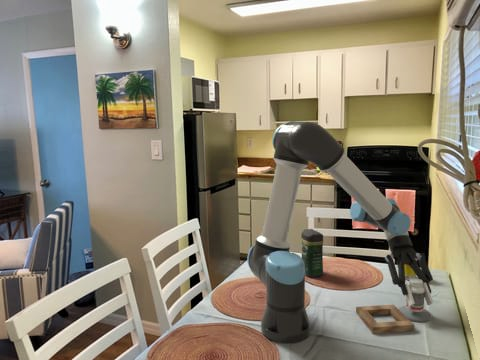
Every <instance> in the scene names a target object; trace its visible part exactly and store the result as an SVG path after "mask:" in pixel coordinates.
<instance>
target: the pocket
mask: <svg viewBox="0 0 480 360" xmlns="http://www.w3.org/2000/svg"><path fill="white" fill-rule="evenodd" d="M355 313H356V315H358V317H359V319H361V321H362V322H363V323H364V325H365V326H366V328H367V329H368V330H369V331H370V332H371V334H383V333H384V334H385V333H386V334H387V333H388V334H389V333H401V332H414V331H415V324H414V322H413V321H410V320H409V319H408V318H407V317H406V316H405V315H404V314H403V313H402V312H401V311H400V310H399V308H398V307H397V306H396V305H395V304H381V305H369V306H368V305H365V306H364V305H363V306H356V307H355ZM380 315H381V316H383V315H390V316H391V318H393V319H394V321H383V322H381V321H380V322H377V321H376V319H374V317H373V316H380Z"/></svg>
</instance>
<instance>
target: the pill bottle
mask: <svg viewBox="0 0 480 360" xmlns="http://www.w3.org/2000/svg"><path fill="white" fill-rule="evenodd" d="M408 281H409V283H408V284H409V287H410V290H411V293H412V296H413V299H414V302H415V304H414V305H413V306H409V304H408V301H407V298H406V297H405V306H406V308H407V309H408V310H410V311H414V312H421V311H423V309H425V307H424V306H425V297H424V294H425V289H424V288H423V287H422V286H423V281H422V280H421V279H418V277H416V278H411V279H410V280H408Z"/></svg>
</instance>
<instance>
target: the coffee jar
mask: <svg viewBox="0 0 480 360" xmlns="http://www.w3.org/2000/svg"><path fill="white" fill-rule="evenodd" d="M300 238H301V239H300V240H301V258H302V259H303V261H304V265H305V276H306V277H312V278H317V277H320V276H323V274H324V260H323V258H324V257H323V256H324V254H323V253H324V250H323V246H324V235H323V234H322V233H321V232H319V231H317V230H314V228H307V229H306V228H305V229H304V230H302V232H301V236H300Z"/></svg>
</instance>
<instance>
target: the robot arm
mask: <svg viewBox="0 0 480 360" xmlns="http://www.w3.org/2000/svg"><path fill="white" fill-rule="evenodd" d="M271 142H272V146H273V148H274V154H273V161H274V163H275V165H276V166H275V171H274V177H273V180H272V186H271V190H270V193H269V199H268V200H269V201H268V204H267V207H266V213H265V218H264V221H263V222H264V223H263V227H262V231H261V234H260V235H258V236H257V237H256V238H255V243H254V244H253V245H252V246H251V247H250V249H249V250H248V251H247V252H248V253H247V264H248V267H249V270H250V271H251V273H252V274H253V275H254V276H255V277H256V278H257V279H258V280H259V281H260V282H261V283H262V284H263V285H264V287H265V289H266V290H265V291H266V295H265V296H266V306H265V308H264V312H263V315H262V317H261V321H260V331H261V333H262V334H263V336H264V337H266V338H267V339H269V340H270V341H271V340H272V341H274V342H278V343H284V344H285V343H286V344H287V343H288V344H291V343H297V342H300V341H304V340H305V339H307V338H308V337H309V335H310V333H311V322H310V319H309V315H308V313H307V310H306V307H305V298H306V293H305V292H306V291H305V290H306V286H305V285H306V275H305V265H304V261H303V259H302V256H301V255H299V254H297V253H294V252H291V251H290V248H291V245H290V243H289V242H288V236H289V233H290V232H289V231H290V226H291V224H292V223H291V222H292V218H293V213H294V208H295V205H296V199H297V195H298V191H299V186H300V181H301V178H302V177H301V176H302V174H303V170H305V169H306V168H308V166H309V163H311V164H313V165H314V166H315V167H317V169H319V170H320V171H321V172H326V173H327V174H328V175H329V176H330V177H331V178H332V179H333V180H334V181H335V182H336V183H337V184H338V185H339V186H340V187H341V188H342V189H343V190H344V191H345V192H346V193H347V194H348V195H349V196H350V197H351V198H352V199H353V200H354V202H352V204H351V206H350V210H349V216H350V217H351V218H350V219H352V220H353V221H354V222H358V223H365V224H368V225H370V226H372V227H375V228H378V229H380V230H382V231H383V232H384V235H385V238H386V241H387V245H388V247H389V250H390V252H391V253H389V254H386V255H385V257H384V261H385V262H386V264H387V267H388V270H389V273H390V276H391V280H392V285H394V286H396V285H397V287H398V288H400V290H401V292H402V295H403V296H405V299H406V298H407V301H408V304H409V306H413V305H414V304H415V302H414V299H413V296H412V293H411V290H410V287H409V285H410V284H409V283H406V279H405V267H404V265H405V264H407V265H409V266H410V267H411V268H412V269H413V271H414V272H415V274H416V278H417V279H421V280H422V281H423V286H422V287H423V288H424V289H425V294H424V301H425V303H426V305H427V306H431V305H432V304H434V300H433V297H432V295H431V294H432V289H431V286H430V283H432V281H433V280H434V278H433V276H432V273H431V270H430V268H429V266H428V263H427V261H426V256H425V253H424V252H421V253H419V252H417V251H416V250H415V249H414V247H413V242H412V240H411V237H410V236H409V229H410V228H411V223H412V220H411V217H410V215H409V214H407V213H406V212H404V211H401V209H400V207H399V206H398V202H397V201H396V200H395V199H393V198H389V197H388V198H386V196H385V195H384V194H383V193H382V192H381V191H380V190H379V189H378V188H377V187H376V186H375V185H374V183H372V181H370V180H369V178H368V177H367V176H366V175H365V174H364V173H363V172H362V171H361V170H360V169H359V168H358V166H357V165H355V163H354V162H353V161H352V160H351V159H350V158H349V157H348V156H347V155H346V150H345V147H344V146H342V144H341V143H340V142H339V141H338V139H336V137H334V136H333V135H332V134H331V133H330V132H329V131H328V130H327V129H326V128H324V127H323V126H322V125H320V124H319V123H316V122H313V121H296V120H295V121H293V120H291V121H288V122H285V123H282V124H281V125H280V126H278V127H277V128H276V130H274V133H273V136H272V141H271ZM394 260H395V261H396V263H397V264H395V261H394ZM416 260H417V261H416ZM396 265H397V268H396ZM397 270H398V271H397Z"/></svg>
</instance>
